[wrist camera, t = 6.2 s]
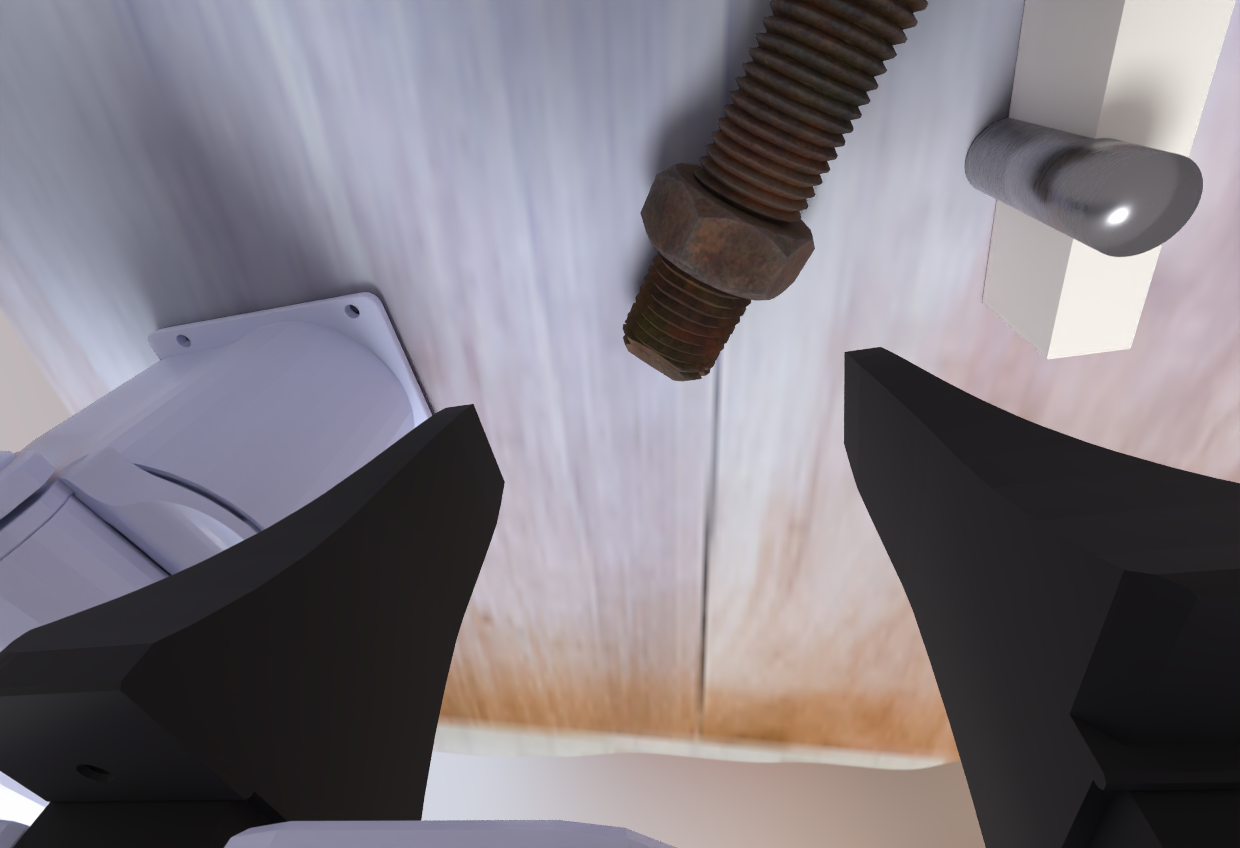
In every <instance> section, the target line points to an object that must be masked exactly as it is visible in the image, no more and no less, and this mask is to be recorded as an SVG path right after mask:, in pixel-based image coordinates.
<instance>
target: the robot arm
mask: <svg viewBox="0 0 1240 848" xmlns="http://www.w3.org/2000/svg"><path fill="white" fill-rule="evenodd" d="M350 305H354V306H355V307H357V309H358V310H359V313H360V314H356V313H354V312H353V311H352V310H351V308H350ZM185 336H186V337H187V338H188V339H189V340H190V341H188V340H187V339H186V338H185ZM148 342H149V344H150V346H151V348H152V349H153V350H154V352H155V353H156V355H157V356H158V357H159V359H160V361H159V362H157V363H156V364H154V365H152V366H151V367H149V368H148V369H146V370H144V371H143V372H141V373H140V374H138V375H137V376H135V377H133V378H132V379H130V380H129V381H127V382H125V383H124V384H122V385H121V386H119V387H117V388H116V389H114V390H113V391H111V392H110V393H108V394H106V395H105V396H103V397H102V398H100V399H98V400H97V401H95V402H94V403H92V404H91V405H89V406H87V407H86V408H84V409H83V410H81V411H79V412H78V413H76V414H75V415H73V416H72V417H70V418H68V419H67V420H65V421H64V422H62V423H61V424H59V425H57V426H56V427H54V428H52V429H51V430H49V431H48V432H46V433H45V434H43V435H41V436H40V437H38V438H37V439H35V440H34V441H33V442H31V443H30V444H29V445H27V446H26V447H25V448H24V449H22V450H21V451H19V452H16V453H12V452H10V451H0V848H676V847H673V846H670V845H668V844H665V843H663V842H660V841H658V840H655V839H652V838H650V837H647V836H645V835H642V834H639V833H637V832H634V831H632V830H629V829H626V828H622V827H613V826H604V825H595V824H587V823H579V822H570V821H562V820H505V821H504V820H494V821H493V820H492V821H491V820H486V821H484V820H481V821H480V820H478V821H475V820H474V821H471V820H470V821H421V818H422V810H423V803H424V796H425V790H426V785H427V779H428V773H429V767H430V761H431V755H432V750H433V744H434V738H435V733H436V728H437V724H438V719H439V714H440V709H441V704H442V699H443V695H444V690H445V685H446V681H447V677H448V673H449V668H450V664H451V660H452V656H453V652H454V648H455V643H456V639H457V636H458V633H459V630H460V626H461V623H462V620H463V617H464V614H465V611H466V609H467V606H468V603H469V600H470V597H471V595H472V592H473V589H474V586H475V584H476V581H477V578H478V575H479V573H480V570H481V567H482V564H483V562H484V559H485V556H486V553H487V550H488V548H489V545H490V542H491V539H492V536H493V533H494V530H495V527H496V524H497V520H498V515H499V510H500V506H501V500H502V494H503V488H504V483H505V482H504V479H503V477H502V474H501V472H500V469H499V467H498V464H497V462H496V459H495V457H494V454H493V452H492V449H491V447H490V444H489V442H488V439H487V437H486V434H485V432H484V429H483V427H482V424H481V422H480V419H479V417H478V414H477V412H476V409H475V407H474V404H470V405H463V406H456V407H449V408H445V409H443V410H441V411H439V412H437V413H436V414H434V415H433V416H432V414H431V412H430V409H429V407H428V405H427V403H426V400H425V398H424V396H423V394H422V392H421V389H420V387H419V385H418V383H417V380H416V378H415V376H414V374H413V371H412V369H411V367H410V365H409V362H408V360H407V358H406V356H405V354H404V351H403V349H402V347H401V345H400V342H399V340H398V338H397V336H396V333H395V331H394V329H393V327H392V324H391V322H390V320H389V318H388V316H387V313H386V311H385V309H384V307H383V304H382V303H381V301H380V299H379V298H378V297H376V296H375V295H374V294H371V293H369V292H361V293H356V294H350V295H345V296H339V297H334V298H328V299H323V300H317V301H312V302H306V303H300V304H295V305H289V306H284V307H278V308H273V309H267V310H262V311H256V312H251V313H245V314H240V315H234V316H229V317H223V318H218V319H212V320H206V321H201V322H195V323H190V324H184V325H179V326H173V327H168V328H162V329H158V330H156V331H155V332H153V333H151V334H150V335H149V337H148ZM844 445H845V448H846V452H847V455H848V459H849V462H850V466H851V469H852V472H853V475H854V479H855V482H856V485H857V488H858V490H859V493H860V495H861V497H862V499H863V501H864V504H865V506H866V508H867V510H868V512H869V515H870V517H871V519H872V521H873V523H874V525H875V527H876V530H877V532H878V534H879V536H880V538H881V540H882V542H883V545H884V547H885V549H886V551H887V553H888V555H889V557H890V559H891V562H892V564H893V566H894V568H895V570H896V572H897V574H898V577H899V579H900V581H901V583H902V585H903V587H904V590H905V592H906V595H907V597H908V600H909V602H910V604H911V607H912V609H913V612H914V615H915V618H916V621H917V624H918V627H919V630H920V633H921V636H922V639H923V642H924V645H925V648H926V651H927V654H928V656H929V659H930V662H931V666H932V669H933V672H934V675H935V678H936V681H937V684H938V688H939V691H940V694H941V697H942V700H943V703H944V706H945V709H946V713H947V716H948V719H949V722H950V725H951V729H952V732H953V736H954V739H955V742H956V746H957V749H958V752H959V756H960V759H961V762H962V766H963V769H964V772H965V776H966V779H967V782H968V786H969V789H970V793H971V796H972V800H973V803H974V807H975V810H976V814H977V818H978V821H979V825H980V828H981V832H982V835H983V839H984V842H985V846H986V848H1240V483H1235V482H1231V481H1226V480H1221V479H1217V478H1213V477H1209V476H1204V475H1200V474H1196V473H1192V472H1188V471H1184V470H1180V469H1176V468H1172V467H1168V466H1165V465H1161V464H1158V463H1154V462H1151V461H1147V460H1144V459H1140V458H1137V457H1133V456H1130V455H1126V454H1122V453H1119V452H1115V451H1112V450H1109V449H1106V448H1103V447H1100V446H1097V445H1093V444H1090V443H1087V442H1084V441H1082V440H1079V439H1076V438H1073V437H1071V436H1068V435H1065V434H1062V433H1059V432H1057V431H1054V430H1051V429H1048V428H1046V427H1043V426H1040V425H1038V424H1035V423H1033V422H1030V421H1028V420H1025V419H1023V418H1021V417H1018V416H1016V415H1014V414H1012V413H1009V412H1007V411H1005V410H1003V409H1000V408H998V407H996V406H994V405H992V404H989V403H987V402H985V401H983V400H981V399H979V398H977V397H975V396H973V395H971V394H969V393H967V392H965V391H963V390H961V389H959V388H957V387H955V386H953V385H951V384H949V383H947V382H945V381H943V380H942V379H940V378H938V377H936V376H934V375H932V374H930V373H929V372H927V371H925V370H923V369H921V368H920V367H918V366H916V365H914V364H912V363H911V362H909V361H907V360H905V359H903V358H901V357H900V356H898V355H896V354H894V353H892V352H890V351H888V350H886V349H884V348H882V347H877V348H870V349H863V350H856V351H849V352H845V385H844Z"/></svg>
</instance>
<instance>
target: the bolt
mask: <svg viewBox="0 0 1240 848" xmlns="http://www.w3.org/2000/svg"><path fill="white" fill-rule="evenodd" d="M770 5H771V8H772V11H773V14H774V16H770V17H764V19H763V20H762V21H763V24H764V26H765V28H766V30H767V32H766V33H757V34H756V36H755V38H756V40H757V43H758V45H759V47H756V48H750V49H749V53H750V55H751V57H752V59H753V61H752V62H747V63H743V67H744V70H745V72H746V74H747V75H746V76H744V77H737V78H736V79H735V80H736V82H737V84H738V86H739V90H737V91H731V92H730V93H729V94H730V97H731V99H732V101H733V104H730V105H724V108H723V109H724V111H725V114H726V116H727V117H725V118H720V119H718V121H717V123H718V125H719V127H720V129H721V130H719V131H716V132H713V133H711V136H712V138H713V140H714V142H715V143H713V144H709V145H706V146H705V147H706V150H707V152H708V155H709V156H705V157H701V158H699V160H700V162H701V164H702V167H701V166H698V165H691V164H682V163H680V164H677V165H675V166H672V167H670V168H668V169H666V170H665V171H663V172H661V173H660V174H658V175H656V178H655V180H654V182H653V185H652V187H651V189H650V192H649V194H648V196H647V199H646V201H645V204H644V206H643V208H642V211H641V216H642V219H643V223H644V226H645V229H646V232H647V235H648V237H649V239H650V241H651V243H652V245H653V246H654V247H655V248H656V249H657V250H658V254H659V255H657V256H656V257H655V258H654V259H653V262H654V265H652V266H650V268H649V270H648V271H649V274H648V275H647V276H646V277H645V278H644V280H645V283H644V284H643V285H642V286H641V287H640V293H639V294H638V295H637V296H636V303H634V304H633V306H632V308H631V311H630V312H629V313H628V315H627V316H628V317H627V320H626V321H625V323H626V324H623V330H624V333H625V336H624V337H623V339H624V342H625V345H626V347H627V349H628V351H629V352H630V353H632V354H633V355H635V356H636V357H638V358H639V359H641V360H642V361H644V362H645V363H647V364H648V365H650V366H652V367H653V368H655V369H656V370H658V371H660V372H661V373H663V374H664V375H666V376H668V377H669V378H671V379H672V380H675V381H688V380H696V379H701V378H702V377H701V376H705V375H707V374H708V373H710V368H712V367H713V366H714V364H715V360H716V359H717V358H718V356H719V354H720V351H721V350H722V349H724V344H725V343H727V341H728V339H729V337H730V334H732V333H733V331H734V329H735V325H736V324H738V323H739V322H740V316H742V315H743V314H744V312H745V310H746V306H748V305H749V304H750V303H751V300H770V299H773V298H775V297H776V296H778V295H779V294H781V293H782V292H784V291H785V290H786V289H787V288H788V287H789V286H790V285H791V284H792V283H793V282H794V281H795V279H796V278H797V276H798V275H799V273H800V271H801V270H802V268H803V267H804V265H805V263H806V262H807V260H808V259H809V257H810V255H811V254H812V252H813V251H814V249H815V247H814V242H813V236H812V233H811V230H810V229H809V228H808V227H807V226H806V224H805V223H804V222H803V221H802V220H801V215H800V212H799V210H804V209H807V207H808V204H807V201H806V199H807V198H811V197H814V196H815V192H814V189H813V186H816V185H820V184H822V179H821V176H820V174H822V173H827V172H828V171H829V170H830V167H829V165H828V162H827V161H829V160H835V159H836V158H837V156H838V155H837V153H836V151H835V148H834V147H840V146H844V144H845V139H844V137H843V135H842V134H845V133H850V132H852V131H853V126H852V124H851V121H850V120H853V119H858V118H860V117H861V116H862V114H861V112H860V110H859V108H858V106H861V105H865V104H868V103H869V102H870V99H869V97H868V95H867V93H866V91H870V90H874V89H877V87H878V84H877V82H876V80H875V78H874V76H877V75H880V74H884V73H885V72H886V71H887V70H886V68H885V66H884V64H883V62H882V61H884V60H888V59H892V58H894V57H895V56H896V55H897V54H896V52H895V50H894V48H893V46H892V45H895V44H900V43H905V42H906V40H907V37H906V35H905V34H904V32H903V29H907V28H911V27H914V26H916V24H917V23H918V22H917V20H916V18H915V16H914V15H913V12H917V11H921V10H924V9H926V7H927V5H928V2H927V1H926V0H773V1H772V2H771V3H770Z"/></svg>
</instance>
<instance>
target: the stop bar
mask: <svg viewBox="0 0 1240 848" xmlns="http://www.w3.org/2000/svg"><path fill="white" fill-rule="evenodd" d="M1235 2H1236V0H1025V6H1024V13H1023V20H1022V27H1021V34H1020V41H1019V48H1018V55H1017V62H1016V69H1015V76H1014V83H1013V90H1012V97H1011V104H1010V111H1009V117H1008V118H1005V119H1002V120H999V121H997V122H995V123H993V124H991V125H990V126H988V127H987V128H986V129H985V130H983V131H982V132H981V133H980V134H979V135H978V137H977V138H976V139H975V140H974V142H973V143H972V145H971V147H970V149H969V151H968V154H967V157H966V162H965V172H966V176H967V179H968V181H969V182H970V184H971V185H972V186H973V187H974V188H976V189H977V190H979V191H981V192H983V193H985V194H987V195H989V196H991V197H993V198H995V199H997V202H996V209H995V216H994V223H993V230H992V237H991V244H990V251H989V258H988V265H987V272H986V279H985V286H984V293H983V300H982V303H983V304H984V305H985V306H986V307H987V308H989V309H990V310H991V311H992V312H993V313H994V314H995V315H997V316H998V317H999V318H1000V319H1001V320H1002V321H1003V322H1005V323H1006V324H1007V325H1008V326H1009V327H1010V328H1011V329H1013V330H1014V331H1015V332H1016V333H1017V334H1018V335H1019V336H1021V337H1022V338H1023V339H1024V340H1025V341H1026V342H1027V343H1029V344H1030V345H1031V346H1032V347H1033V348H1034V349H1035V350H1037V351H1038V352H1039V353H1040V354H1041V355H1042V356H1043V357H1045V358H1046V359H1054V358H1062V357H1070V356H1077V355H1085V354H1093V353H1101V352H1109V351H1116V350H1124V349H1131V345H1132V342H1133V339H1134V336H1135V332H1136V329H1137V326H1138V322H1139V319H1140V316H1141V312H1142V309H1143V306H1144V302H1145V299H1146V296H1147V293H1148V289H1149V286H1150V283H1151V279H1152V276H1153V273H1154V269H1155V266H1156V263H1157V260H1158V256H1159V253H1160V250H1161V246H1162V243H1164V242H1166V241H1167V240H1168V239H1170V238H1171V237H1172V236H1173V235H1175V234H1176V233H1177V232H1178V231H1179V230H1180V229H1181V228H1182V227H1183V226H1184V225H1185V224H1186V222H1187V221H1188V220H1189V219H1190V217H1191V216H1192V214H1193V213H1194V211H1195V209H1196V207H1197V206H1198V203H1199V201H1200V198H1201V194H1202V189H1203V178H1202V174H1201V171H1200V169H1199V167H1198V166H1197V165H1196V163H1195V162H1193V161H1192V160H1191V159H1189V158H1188V157H1189V154H1190V150H1191V147H1192V144H1193V141H1194V137H1195V134H1196V131H1197V127H1198V124H1199V121H1200V117H1201V114H1202V111H1203V107H1204V104H1205V101H1206V98H1207V94H1208V91H1209V88H1210V84H1211V81H1212V78H1213V74H1214V71H1215V68H1216V64H1217V61H1218V58H1219V55H1220V51H1221V48H1222V45H1223V41H1224V38H1225V35H1226V31H1227V28H1228V25H1229V22H1230V18H1231V15H1232V12H1233V8H1234V5H1235Z"/></svg>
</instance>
